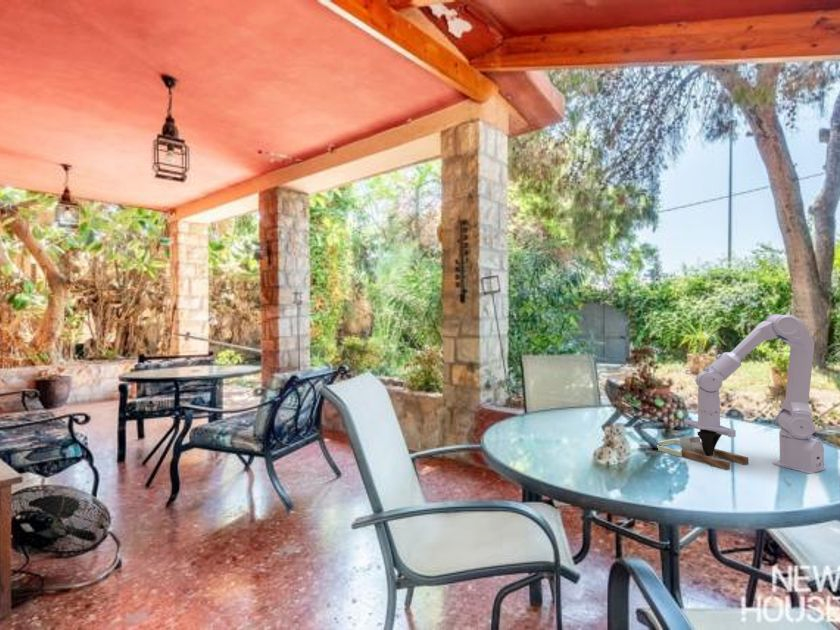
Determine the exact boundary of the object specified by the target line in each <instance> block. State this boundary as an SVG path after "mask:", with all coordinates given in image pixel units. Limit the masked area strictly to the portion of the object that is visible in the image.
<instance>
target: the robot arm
mask: <svg viewBox="0 0 840 630" xmlns="http://www.w3.org/2000/svg"><path fill="white" fill-rule="evenodd" d="M775 339H781V340H782V341H783V342H784V343H785V344H786V345H787V346H788V347H790V349H789V357H788V368H787V370H788V371H787V379H786V381H787V382H786V389H785V397H784V398H785V400H784V401H783V402H782V403H781V408H780V411H779V412H778V413H777V415H776V423H777V425H778V427H779V428H780V431H779V432H778V433H779V437H778V438H779V439H778V440H779V460H777V461H774V462H772V464H773V465H774V466H778V467H782V468H787V469H790V470H794V471H797V472H802V473H805V474H810V475H812V474H814V473H818V472H822V471H825V470H826V469H827V468H826V467H825V450H824V449H825V448H824V444H823V442H822V441H821V440H817V439H815V438H813V437H812V435H813V434H814V433H815V429H816V428H815V427H816V425H815V424H814V421H813V413H812V410H811V408H810V405H809V403H810V402H809V401H810V390H811V383H812V381H811V380H812V371H813V370H812V369H813V364H814V362H813V361H814V353H815V351H814V350H815V340H813V337H812V335H810V332H809V331H808V329H807V328H806V323H805V322H804V321H803V320H801V319H799V318H798V317H797V316H795V315H794V314H780V313H774V314H771V315H769V316H767V317H766V318H765V320H762V321H761V322H760V323H758V324H757V325H756V326H755V327H754V328H753V329H752V330H751V331H750V332H749V334H748V335H746V336H745V337H744V339H743V340H741V342H739V344H737V345H736V347H734V349H732V350H731V351H730V352H729V351H726V352H723V353H722V354H720V353H718V354H717V355H716V359H715V360H714V361H712V363H711V364H710V365H709V366H708V365H707V366H705V367H704V370H702V371H700V372H699V373H698V374H697V375H696V377H695V378H694V379H695V380H694V381H695V383H696V385H697V386H698V387H697V393H698V394H697V420H691V419H686V420H684V427H686V428H692V429H697V430H699V431H697V435H698V436H697V437H700V441H702V443H703V445H704V448H705V451H706V455H707V456H711V455H713V453H714V449H716V445H717V443H718V442H719V440H720V439H721V437H722V435H723V436H727V437H728V438H735V437H737V433H736V431H737V430H736V429H733V428H729V427H726V426H723V425H721V405H720V404H721V403H720V400H721V397H720V389H721V388H722V386H723V382H724V381H726V380H727V379H728V378H729V377H730V376H731V375H733V374H734V373H735V372H736V371H737V370H738V369H739V368H740V367H741V366H742V359H743V358H745V357H746V356H747V355H749V354H750V353H751V352H752V351H753V350H754V349H756V348H757V347H758V346H759V345H761V344H762V343H763V342H764V341H769V340H775Z"/></svg>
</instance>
